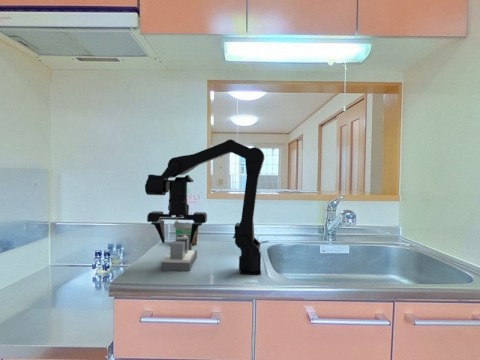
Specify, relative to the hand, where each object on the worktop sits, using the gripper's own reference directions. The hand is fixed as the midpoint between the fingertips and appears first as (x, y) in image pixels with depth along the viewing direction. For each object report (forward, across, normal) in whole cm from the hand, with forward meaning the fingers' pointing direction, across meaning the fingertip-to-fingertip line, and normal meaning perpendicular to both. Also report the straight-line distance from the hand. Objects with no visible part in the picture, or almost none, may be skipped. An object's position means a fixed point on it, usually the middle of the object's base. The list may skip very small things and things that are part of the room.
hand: (177, 243), depth 107 cm
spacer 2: (+5, 0, 0) cm, 5 cm away
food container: (+8, +4, -32) cm, 34 cm away
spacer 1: (+5, 0, -8) cm, 9 cm away
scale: (+8, 0, -4) cm, 9 cm away
